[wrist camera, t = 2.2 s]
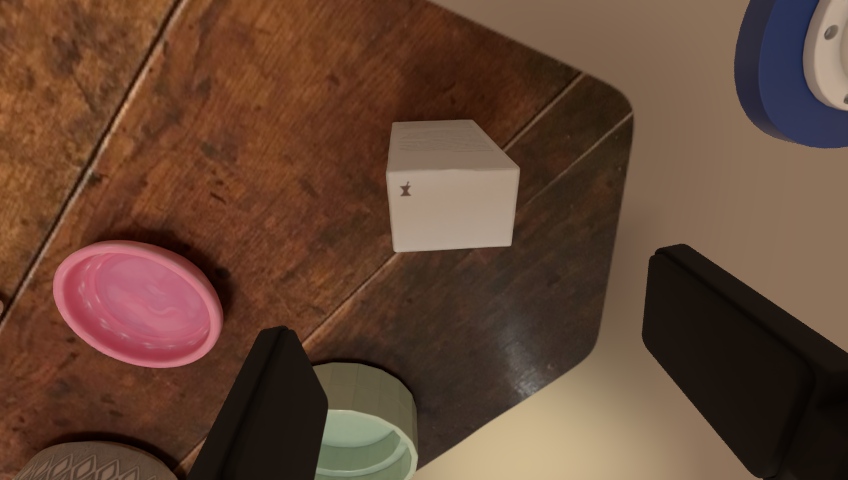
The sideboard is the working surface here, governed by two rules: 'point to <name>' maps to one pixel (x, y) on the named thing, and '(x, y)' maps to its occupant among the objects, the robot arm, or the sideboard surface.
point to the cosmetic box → (449, 187)
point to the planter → (94, 463)
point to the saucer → (138, 303)
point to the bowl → (366, 425)
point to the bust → (1, 307)
